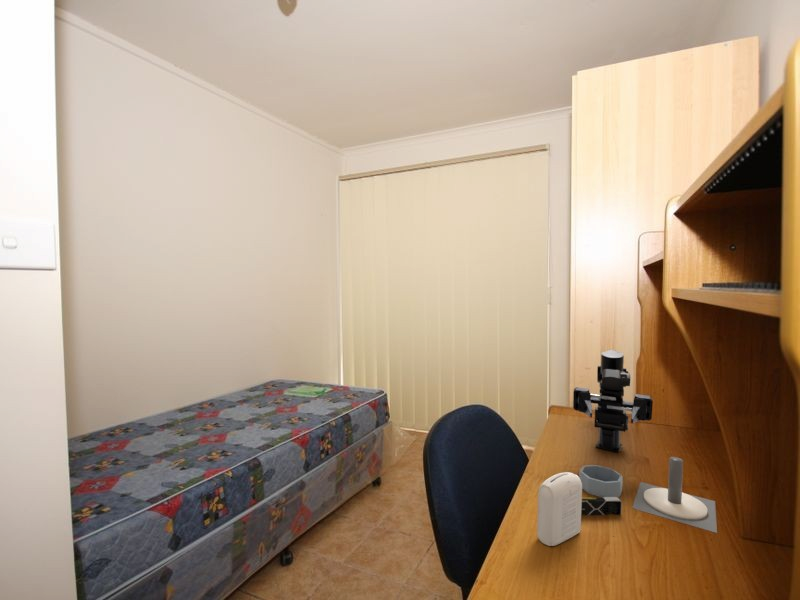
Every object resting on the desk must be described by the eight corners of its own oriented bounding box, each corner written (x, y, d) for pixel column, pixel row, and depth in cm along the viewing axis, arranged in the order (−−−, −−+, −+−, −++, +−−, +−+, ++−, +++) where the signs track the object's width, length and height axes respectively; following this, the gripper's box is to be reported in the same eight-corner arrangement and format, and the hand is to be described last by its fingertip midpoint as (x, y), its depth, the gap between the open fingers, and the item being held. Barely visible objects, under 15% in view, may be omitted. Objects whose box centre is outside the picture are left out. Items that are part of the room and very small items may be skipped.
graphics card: (568, 520, 88) (571, 501, 87) (563, 510, 91) (566, 492, 89) (621, 518, 89) (625, 500, 87) (614, 509, 91) (618, 491, 90)
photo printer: (565, 522, 87) (566, 464, 86) (584, 532, 83) (585, 472, 82) (533, 538, 81) (535, 477, 80) (552, 550, 77) (553, 486, 77)
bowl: (584, 477, 107) (585, 462, 106) (623, 487, 101) (624, 471, 101) (576, 491, 99) (576, 475, 99) (617, 503, 94) (618, 486, 94)
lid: (646, 486, 101) (648, 444, 101) (707, 501, 94) (709, 457, 94) (640, 507, 92) (642, 461, 91) (707, 526, 85) (709, 477, 84)
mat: (640, 483, 103) (640, 481, 103) (714, 502, 95) (715, 501, 95) (632, 509, 91) (632, 507, 91) (717, 534, 82) (717, 532, 82)
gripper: (576, 361, 118) (571, 384, 105) (651, 368, 110) (656, 394, 97) (575, 396, 121) (570, 423, 108) (648, 405, 113) (654, 436, 99)
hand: (611, 418), depth 103 cm, fingers open, 9 cm apart
